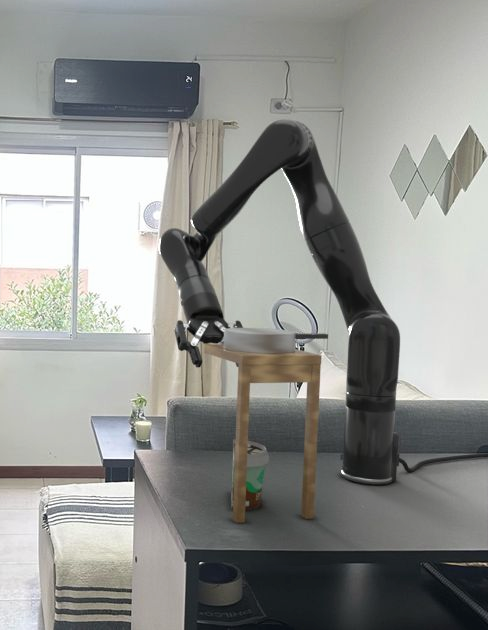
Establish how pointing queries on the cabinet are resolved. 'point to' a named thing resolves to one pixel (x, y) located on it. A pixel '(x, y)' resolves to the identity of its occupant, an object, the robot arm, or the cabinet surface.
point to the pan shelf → (271, 367)
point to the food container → (252, 474)
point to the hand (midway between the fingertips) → (220, 364)
